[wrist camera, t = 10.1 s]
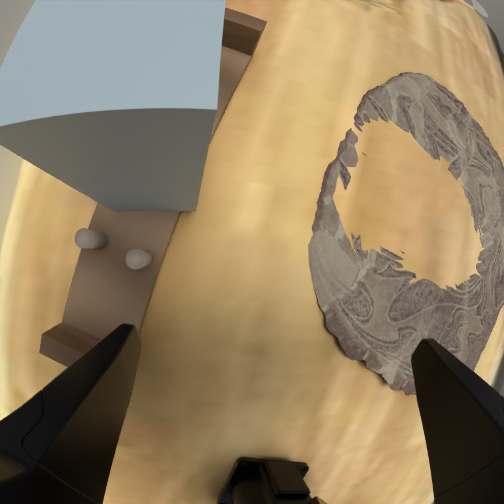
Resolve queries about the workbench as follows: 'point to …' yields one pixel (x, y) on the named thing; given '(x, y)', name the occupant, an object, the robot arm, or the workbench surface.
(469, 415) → the robot arm
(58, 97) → the frame block
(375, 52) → the workbench surface
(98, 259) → the rail
